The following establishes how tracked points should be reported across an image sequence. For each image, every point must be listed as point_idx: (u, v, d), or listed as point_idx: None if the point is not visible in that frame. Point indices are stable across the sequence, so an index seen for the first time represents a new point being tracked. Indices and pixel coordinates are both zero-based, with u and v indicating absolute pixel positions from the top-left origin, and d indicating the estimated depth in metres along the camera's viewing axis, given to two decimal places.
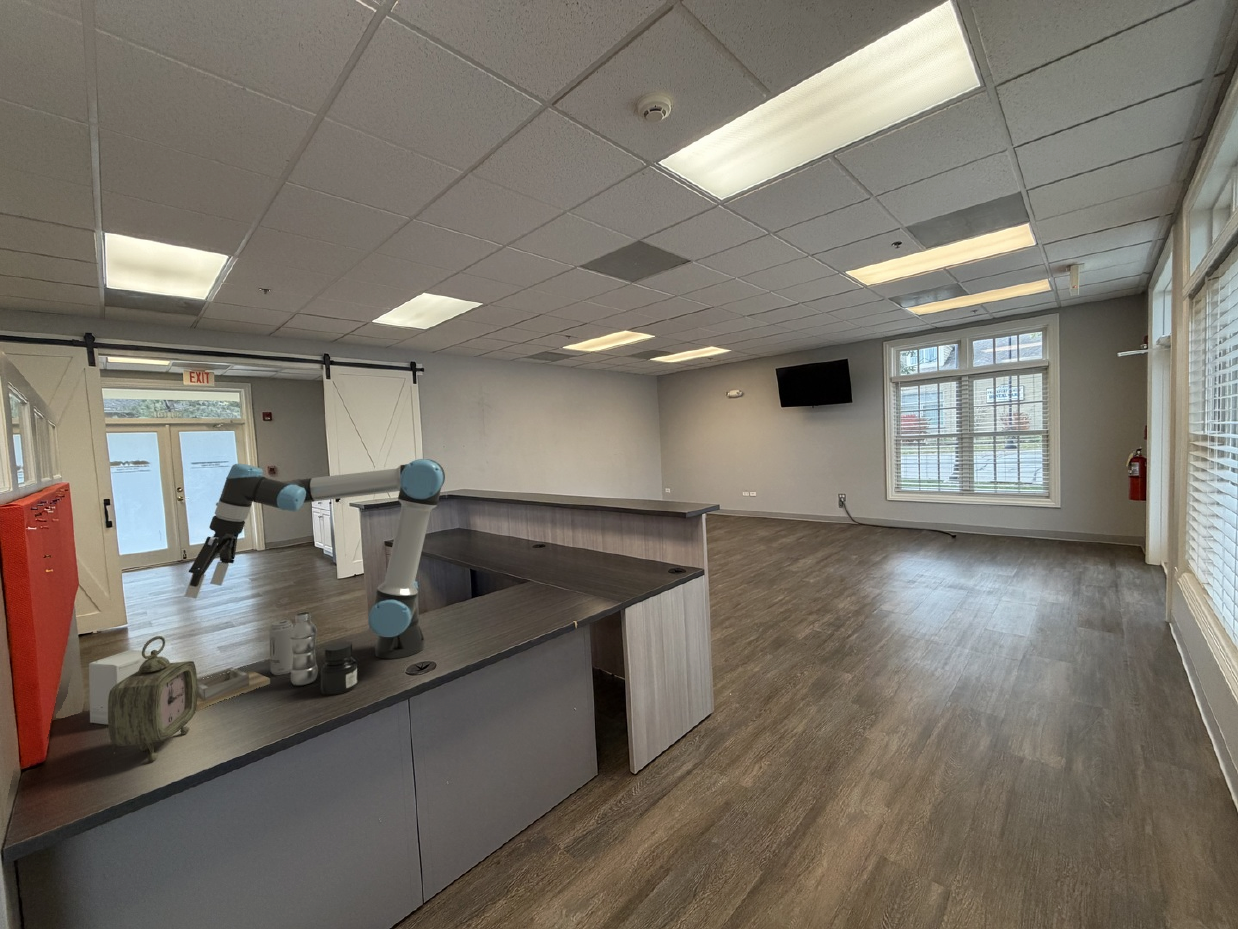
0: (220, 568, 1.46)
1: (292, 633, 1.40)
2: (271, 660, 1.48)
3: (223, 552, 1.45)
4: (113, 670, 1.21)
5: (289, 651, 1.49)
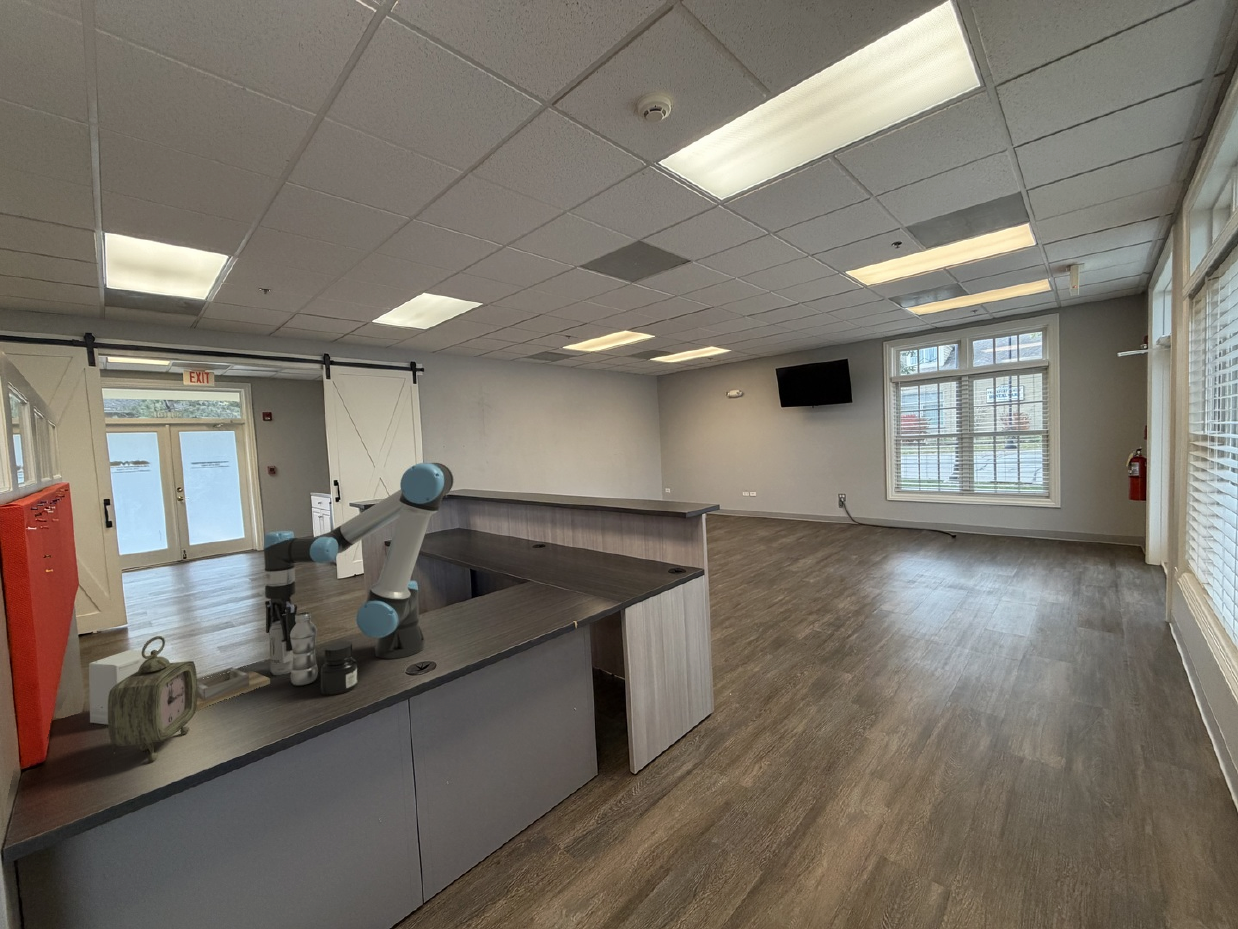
0: None
1: (292, 633, 1.40)
2: (271, 660, 1.48)
3: None
4: (113, 670, 1.21)
5: None
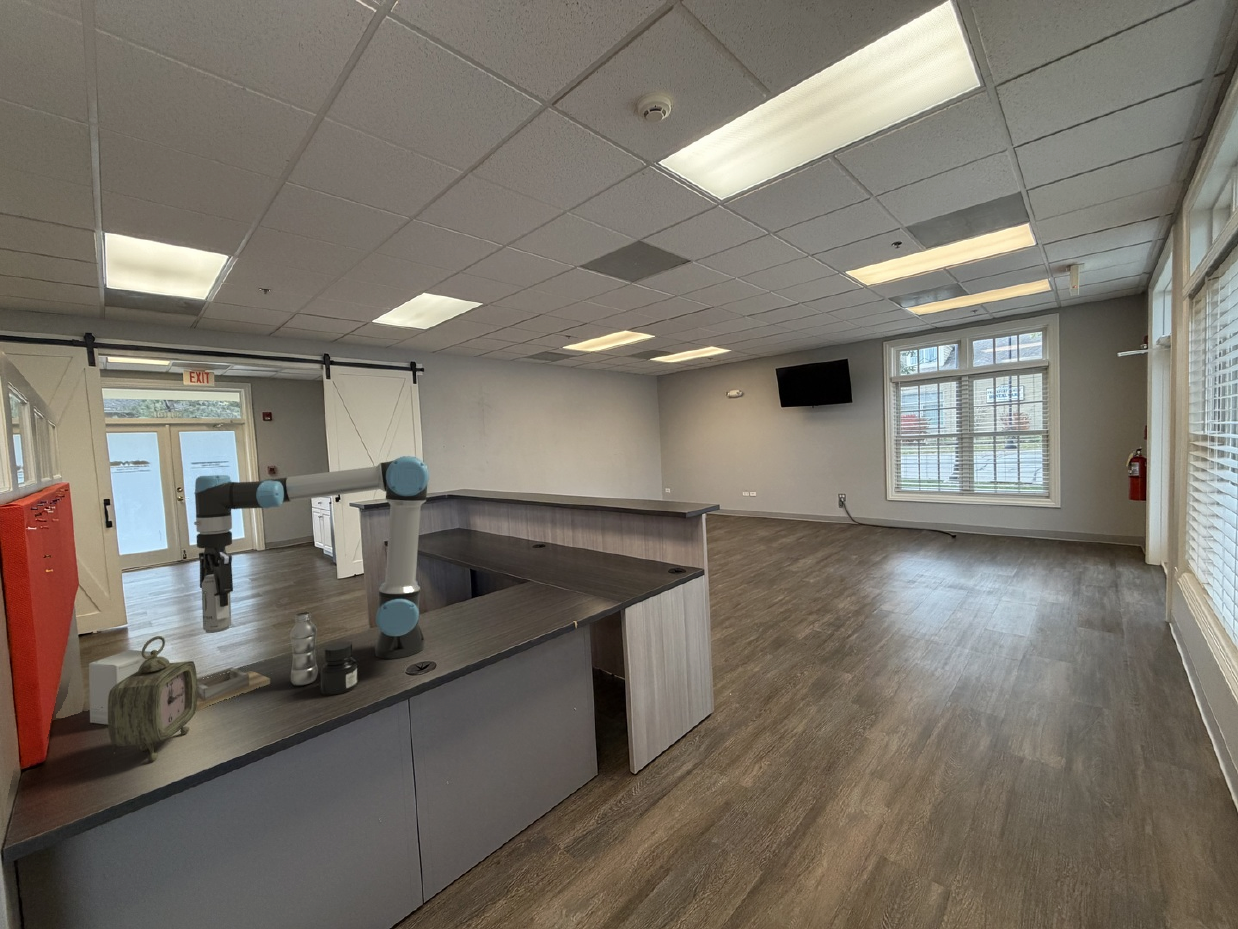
0: None
1: (292, 633, 1.40)
2: (203, 616, 1.34)
3: (211, 574, 1.37)
4: (113, 670, 1.21)
5: None
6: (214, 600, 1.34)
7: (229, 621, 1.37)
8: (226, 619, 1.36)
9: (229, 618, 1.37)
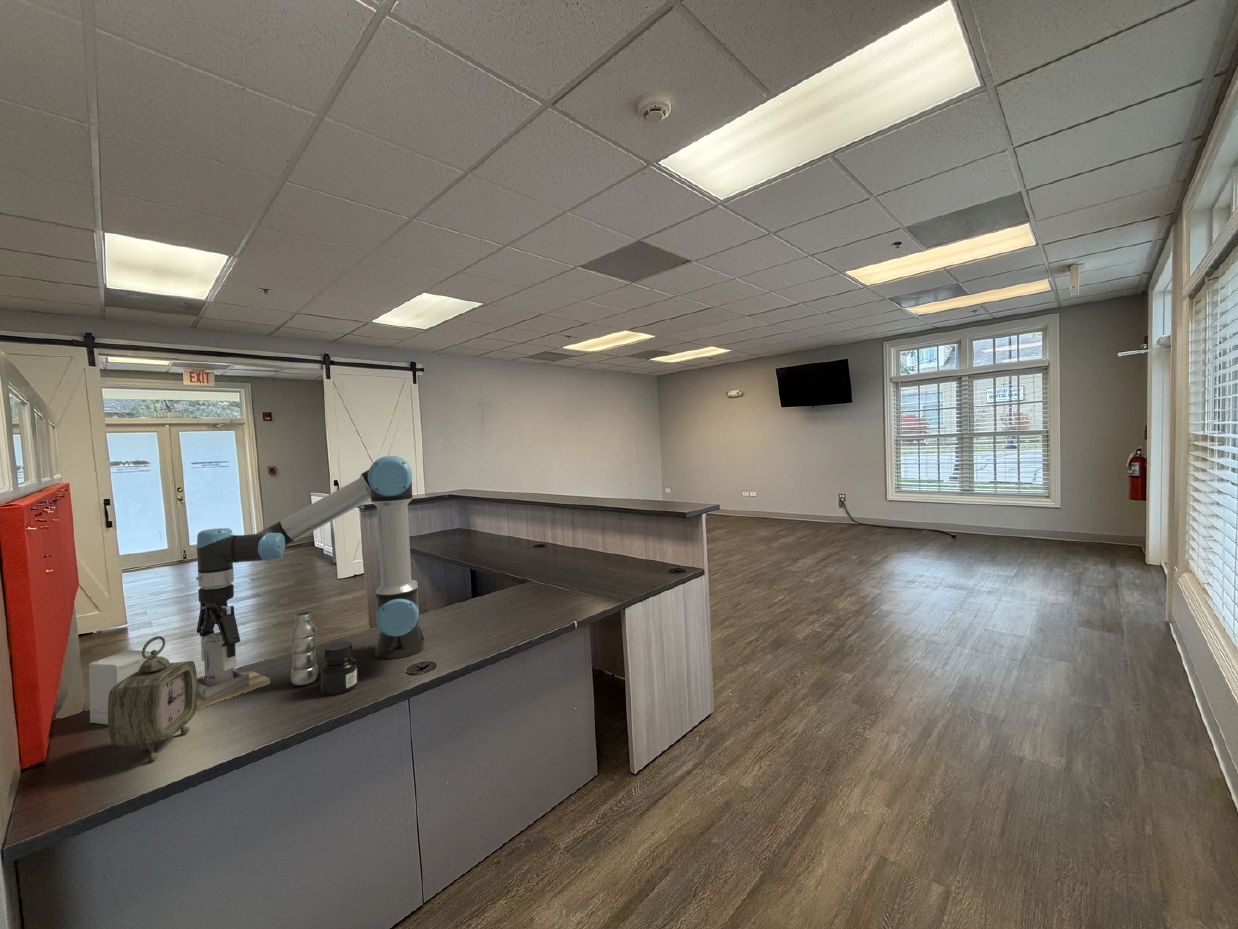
0: None
1: (292, 633, 1.40)
2: (205, 676, 1.34)
3: (209, 624, 1.38)
4: (113, 670, 1.21)
5: None
6: (216, 660, 1.34)
7: None
8: (228, 678, 1.36)
9: (231, 676, 1.37)
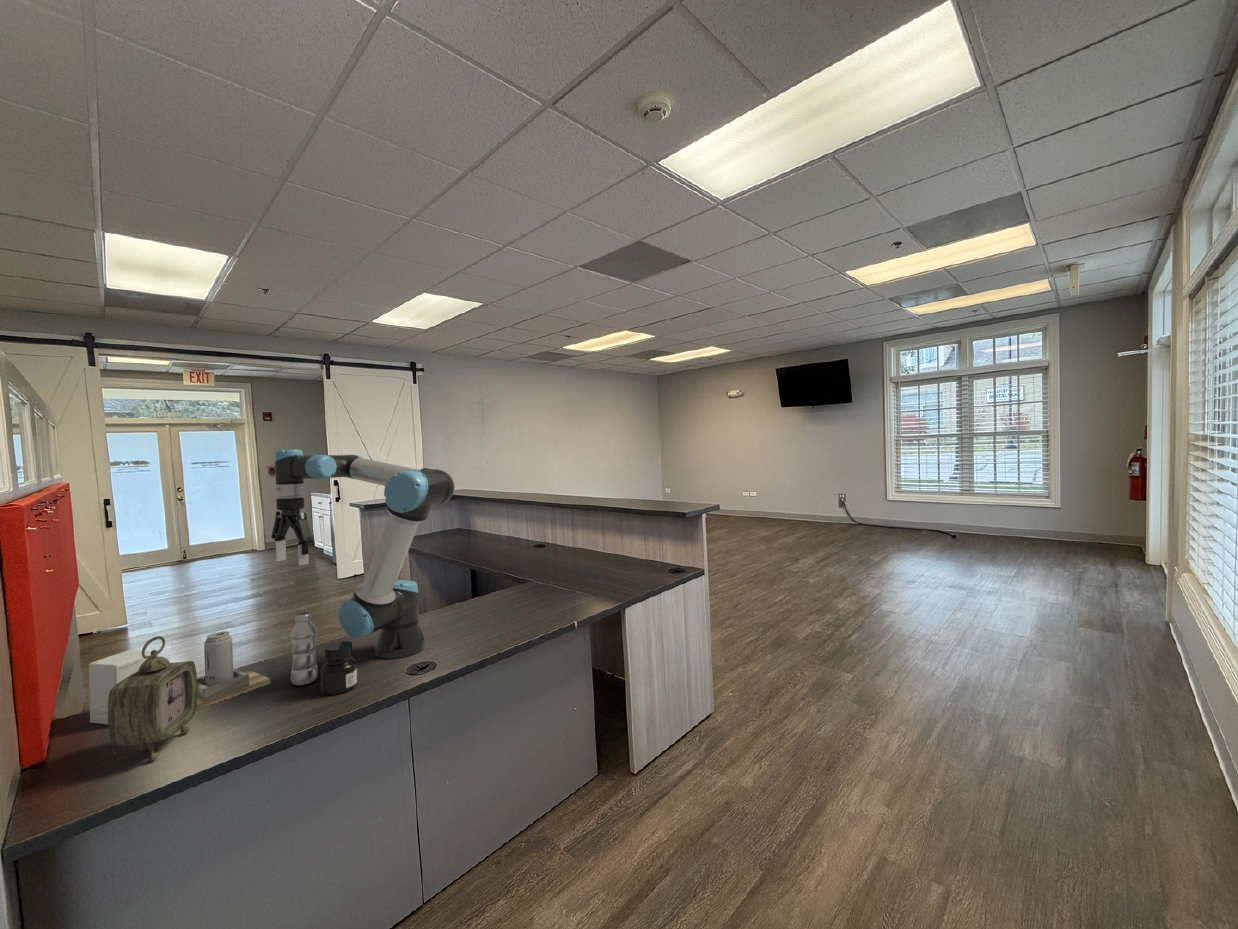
0: (280, 546, 1.64)
1: (292, 633, 1.40)
2: (206, 676, 1.34)
3: (283, 530, 1.63)
4: (113, 670, 1.21)
5: (226, 666, 1.35)
6: (216, 660, 1.34)
7: None
8: (228, 678, 1.36)
9: (231, 677, 1.37)
